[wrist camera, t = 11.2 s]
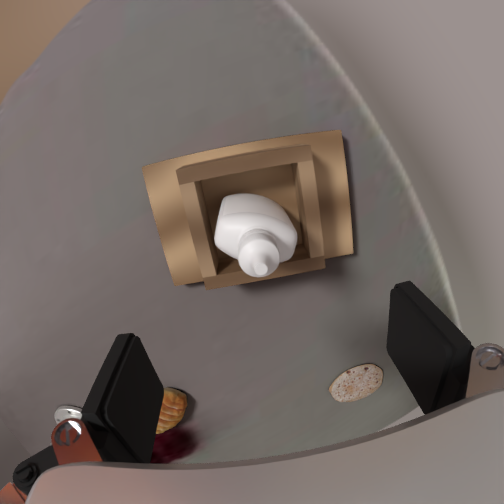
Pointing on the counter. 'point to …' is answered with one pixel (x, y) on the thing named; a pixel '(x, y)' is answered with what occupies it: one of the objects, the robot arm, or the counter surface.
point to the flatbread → (356, 383)
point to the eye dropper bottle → (255, 233)
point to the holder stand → (260, 183)
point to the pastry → (171, 409)
